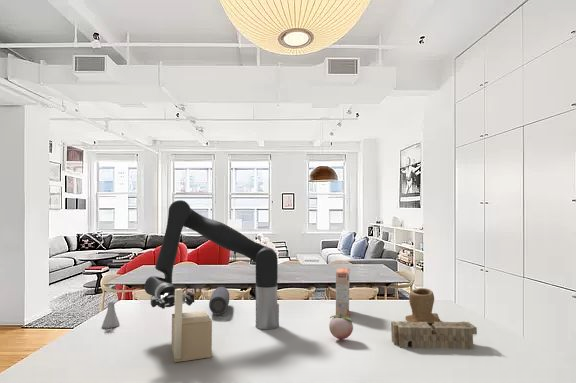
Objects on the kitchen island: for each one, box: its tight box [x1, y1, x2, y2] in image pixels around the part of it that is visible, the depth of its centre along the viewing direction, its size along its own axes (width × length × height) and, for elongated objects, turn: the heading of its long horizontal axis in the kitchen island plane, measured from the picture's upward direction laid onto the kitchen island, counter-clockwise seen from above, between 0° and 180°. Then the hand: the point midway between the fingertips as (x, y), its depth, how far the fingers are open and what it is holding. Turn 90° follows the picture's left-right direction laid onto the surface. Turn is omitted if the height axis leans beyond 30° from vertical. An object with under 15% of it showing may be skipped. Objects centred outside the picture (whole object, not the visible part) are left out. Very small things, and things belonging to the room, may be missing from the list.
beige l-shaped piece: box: [173, 288, 213, 363], centre depth 130 cm, size 12×3×24 cm, turn 111°
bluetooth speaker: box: [208, 286, 230, 315], centre depth 193 cm, size 23×9×10 cm, turn 6°
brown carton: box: [171, 310, 213, 356], centre depth 138 cm, size 12×14×12 cm
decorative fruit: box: [328, 314, 354, 341], centre depth 150 cm, size 9×8×10 cm
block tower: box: [390, 320, 478, 350], centre depth 145 cm, size 8×8×29 cm
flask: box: [101, 301, 121, 329], centre depth 168 cm, size 7×7×10 cm
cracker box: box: [335, 267, 350, 318], centre depth 187 cm, size 14×6×21 cm, turn 168°
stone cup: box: [404, 287, 441, 325], centre depth 172 cm, size 15×12×15 cm
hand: (177, 303), depth 129 cm, fingers open, 8 cm apart
